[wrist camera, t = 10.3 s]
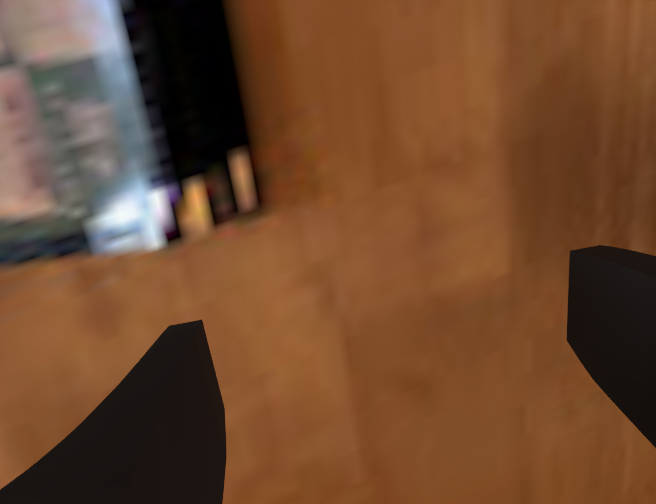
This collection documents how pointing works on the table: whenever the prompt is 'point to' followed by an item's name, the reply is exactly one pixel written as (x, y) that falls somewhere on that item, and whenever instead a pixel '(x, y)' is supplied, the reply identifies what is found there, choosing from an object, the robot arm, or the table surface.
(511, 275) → the table surface
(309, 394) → the table surface
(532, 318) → the table surface
